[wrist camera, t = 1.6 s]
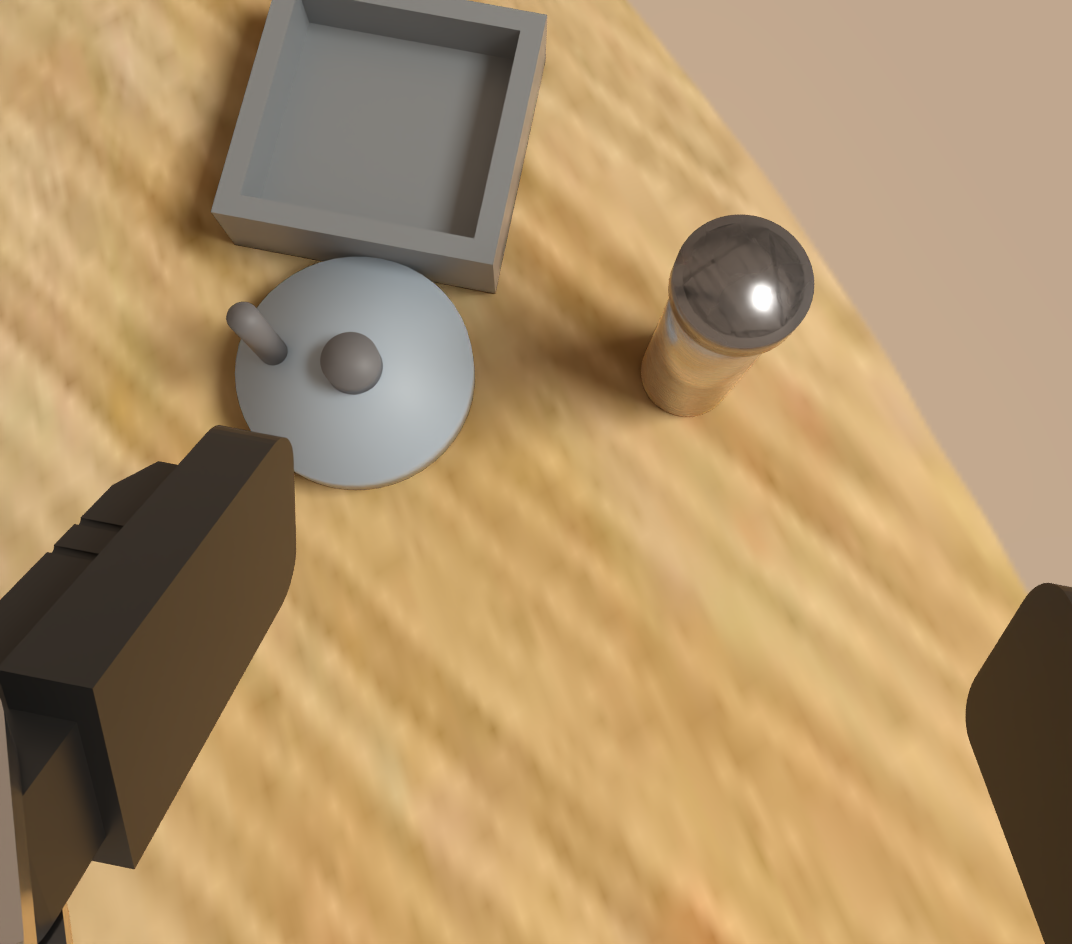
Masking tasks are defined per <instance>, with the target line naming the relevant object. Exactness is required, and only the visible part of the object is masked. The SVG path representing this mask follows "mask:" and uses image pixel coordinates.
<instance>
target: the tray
mask: <svg viewBox="0 0 1072 944" xmlns="http://www.w3.org/2000/svg"><path fill="white" fill-rule="evenodd" d="M546 32H547V15H545V14H539V13H534V12H528V11H523V10H517V9H512V8H506V7H501V6H495V5H490V4H484V3H478V2H473V1H467V0H272V2H271V5H270V9H269V12H268V16H267V19H266V23H265V26H264V30H263V33H262V36H261V40H260V43H259V47H258V50H257V54H256V57H255V61H254V64H253V68H252V71H251V75H250V78H249V82H248V85H247V88H246V92H245V95H244V99H243V102H242V106H241V109H240V113H239V116H238V120H237V123H236V127H235V130H234V133H233V137H232V140H231V144H230V147H229V151H228V154H227V158H226V161H225V165H224V168H223V172H222V175H221V178H220V182H219V185H218V189H217V192H216V196H215V199H214V203H213V206H212V210H211V213H212V214H213V216H214V217H215V218H216V220H217V221H218V222H219V224H220V225H221V226H222V228H223V229H224V230H225V232H226V233H227V234H228V236H229V237H230V239H231V240H232V241H233V243H234V244H235V245H240V246H245V247H250V248H256V249H261V250H266V251H272V252H277V253H282V254H288V255H293V256H298V257H304V258H309V259H314V260H320V261H327V260H331V259H335V258H344V257H373V258H381V259H385V260H389V261H393V262H396V263H399V264H401V265H404V266H406V267H409V268H411V269H413V270H415V271H416V272H418V273H420V274H422V275H423V276H425V277H426V278H427V279H429V280H430V281H432V282H437V283H442V284H447V285H453V286H458V287H463V288H469V289H474V290H479V291H485V292H490V293H496V288H497V283H498V279H499V274H500V269H501V265H502V260H503V256H504V251H505V246H506V242H507V237H508V232H509V228H510V223H511V218H512V214H513V209H514V204H515V200H516V195H517V190H518V186H519V181H520V176H521V172H522V167H523V162H524V158H525V153H526V148H527V144H528V139H529V134H530V130H531V125H532V120H533V116H534V111H535V106H536V102H537V97H538V92H539V88H540V83H541V79H542V74H543V69H544V65H545V58H546Z"/></svg>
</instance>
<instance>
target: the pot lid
mask: <svg viewBox="0 0 1072 944" xmlns="http://www.w3.org/2000/svg"><path fill="white" fill-rule="evenodd" d="M226 320H227V323H228V325H229V327H230V328H231V329H232V330H233V331H234V332H235V333H236V334H237V335H238V336H239V337H240V338H241V340H240V343H239V347H238V352H237V357H236V366H235V382H236V392H237V396H238V401H239V405H240V408H241V410H242V413H243V416H244V419H245V420H246V422H247V424H248V426H249V428H250V430H251V431H253V432H258V433H263V434H269V435H274V436H279V437H285V438H287V439H288V440H289V441H290V443H291V445H292V449H293V457H294V472H296V473H298V474H299V475H301V476H303V477H304V478H306V479H309V480H311V481H314V482H316V483H318V484H322V485H325V486H329V487H333V488H339V489H347V490H367V489H374V488H381V487H385V486H389V485H392V484H396V483H398V482H401V481H403V480H406V479H408V478H410V477H412V476H414V475H416V474H417V473H419V472H421V471H423V470H424V469H425V468H427V467H428V466H429V465H431V464H432V463H433V462H435V461H436V460H437V459H438V458H439V457H440V456H441V455H442V454H443V453H444V452H445V451H446V450H447V449H448V447H449V446H450V445H451V444H452V442H453V441H454V440H455V439H456V437H457V435H458V434H459V432H460V430H461V429H462V427H463V425H464V423H465V420H466V418H467V416H468V413H469V410H470V407H471V403H472V400H473V393H474V387H475V368H474V360H473V353H472V348H471V343H470V340H469V336H468V332H467V329H466V327H465V325H464V322H463V320H462V318H461V316H460V314H459V313H458V311H457V309H456V308H455V306H454V304H453V303H452V302H451V301H450V299H449V298H448V297H447V296H446V294H445V293H444V292H443V291H442V290H441V289H440V288H438V287H437V286H436V285H435V284H434V283H433V282H432V281H430V280H429V279H427V278H426V277H425V276H423V275H422V274H420V273H418V272H416V271H415V270H413V269H411V268H409V267H406V266H404V265H401V264H399V263H396V262H393V261H389V260H385V259H381V258H373V257H344V258H335V259H331V260H327V261H323V262H320V263H317V264H315V265H312V266H309V267H307V268H305V269H303V270H301V271H299V272H297V273H295V274H293V275H292V276H290V277H289V278H287V279H286V280H284V281H283V282H282V283H280V284H279V285H278V286H277V287H276V288H275V289H273V290H272V291H271V292H270V293H269V294H268V295H267V296H266V297H265V299H264V300H263V301H262V302H261V303H260V304H259V306H258V307H257V309H256V307H255V306H254V305H252V304H251V303H248V302H239V303H236V304H234V305H233V306H231V307H230V309H229V310H228V312H227V316H226Z"/></svg>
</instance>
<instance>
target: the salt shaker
mask: <svg viewBox="0 0 1072 944" xmlns="http://www.w3.org/2000/svg"><path fill="white" fill-rule="evenodd" d="M668 293H669V299H668V302H667V304H666V306H665V308H664V311H663V313H662V315H661V318H660V320H659V322H658V325H657V327H656V329H655V331H654V334H653V336H652V338H651V341H650V343H649V345H648V348H647V350H646V352H645V355H644V357H643V360H642V364H641V379H642V384H643V387H644V389H645V391H646V393H647V395H648V396H649V398H650V399H651V400H652V401H653V402H654V403H655V404H656V405H657V406H658V407H660V408H661V409H662V410H664V411H666V412H668V413H671V414H673V415H677V416H683V417H692V416H698V415H702V414H704V413H707V412H709V411H710V410H712V409H714V408H715V407H716V406H717V405H718V404H719V403H720V402H721V401H722V400H723V399H724V398H725V397H726V395H727V394H728V393H729V392H730V391H731V389H732V388H733V387H734V386H735V385H736V384H737V382H738V381H739V380H740V379H741V378H742V377H743V375H744V374H745V373H746V372H747V371H748V370H749V368H750V367H751V366H752V365H753V364H754V363H755V361H756V360H757V359H758V358H759V357H760V355H761V354H762V353H765V352H767V351H769V350H771V349H773V348H775V347H777V346H778V345H779V344H781V343H782V342H783V341H784V340H785V339H786V338H787V337H788V336H789V335H790V334H791V333H792V332H793V331H794V330H795V329H796V328H797V326H798V325H799V324H800V323H801V322H802V320H803V319H804V317H805V316H806V314H807V312H808V310H809V308H810V305H811V302H812V298H813V294H814V275H813V270H812V266H811V263H810V260H809V258H808V256H807V254H806V252H805V250H804V249H803V247H802V246H801V244H800V243H799V242H798V241H797V240H796V239H795V237H794V236H792V235H791V234H790V233H789V232H788V231H787V230H785V229H784V228H782V227H781V226H779V225H778V224H776V223H774V222H772V221H769V220H767V219H764V218H761V217H757V216H751V215H729V216H724V217H720V218H717V219H714V220H712V221H709V222H707V223H706V224H704V225H702V226H701V227H699V228H698V229H697V230H695V231H694V232H693V233H692V234H691V235H690V236H689V237H688V239H687V240H686V241H685V242H684V244H683V246H682V247H681V249H680V251H679V253H678V256H677V258H676V261H675V263H674V266H673V268H672V271H671V274H670V278H669V286H668Z"/></svg>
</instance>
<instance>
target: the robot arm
mask: <svg viewBox="0 0 1072 944" xmlns="http://www.w3.org/2000/svg"><path fill="white" fill-rule="evenodd" d="M295 558H296V524H295V489H294V457H293V449H292V445H291V443H290V441H289V440H288V439H287V438H285V437H279V436H274V435H269V434H263V433H258V432H253V431H247V430H242V429H237V428H232V427H226V426H221V425H218V426H214V427H213V428H211V429H210V430H209V431H208V432H207V433H206V434H205V435H204V437H203V438H202V439H201V440H200V441H199V442H198V443H197V444H196V445H195V447H194V448H193V449H192V450H191V451H190V452H189V453H188V454H187V456H186V457H185V458H184V459H183V460H182V461H181V462H180V463H179V465H175V464H170V463H165V462H159V461H158V462H156V463H154V464H152V465H150V466H148V467H146V468H144V469H143V470H141V471H139V472H137V473H135V474H133V475H131V476H129V477H127V478H125V479H123V480H121V481H119V482H118V483H116V484H114V485H112V486H111V487H110V488H109V489H108V490H107V491H106V492H105V493H104V494H103V495H102V496H101V497H100V498H99V499H98V500H97V501H96V502H95V503H94V505H93V506H92V507H91V508H90V509H89V510H88V511H87V512H86V513H85V514H84V515H83V516H82V517H81V521H80V524H79V525H76V524H74V525H73V526H72V527H71V528H70V529H69V530H68V531H67V532H66V533H65V534H64V535H63V536H62V537H61V538H60V539H59V540H58V541H57V542H56V543H55V544H54V550H53V552H52V553H49V552H47V553H46V554H45V555H44V556H43V557H42V558H41V559H40V560H39V561H38V562H37V563H36V564H35V565H34V566H33V567H32V568H31V569H30V570H29V571H28V572H27V573H26V574H25V575H24V576H23V577H22V578H21V579H20V580H19V581H18V582H17V583H16V584H15V585H14V587H13V588H12V589H11V590H10V591H9V592H8V593H7V594H6V595H5V596H4V597H3V598H2V599H1V600H0V944H73V939H72V932H71V924H70V916H69V910H68V906H67V900H68V899H69V897H70V896H71V894H72V892H73V891H74V889H75V887H76V886H77V884H78V882H79V881H80V879H81V877H82V876H83V874H84V873H85V871H86V869H87V868H88V866H89V864H90V863H91V861H96V862H101V863H106V864H111V865H116V866H121V867H126V868H131V869H135V867H136V866H137V864H138V862H139V860H140V859H141V857H142V855H143V853H144V851H145V850H146V848H147V846H148V844H149V842H150V841H151V839H152V837H153V835H154V833H155V832H156V830H157V828H158V826H159V824H160V823H161V821H162V819H163V817H164V815H165V814H166V812H167V810H168V808H169V807H170V805H171V803H172V801H173V799H174V798H175V796H176V794H177V792H178V790H179V789H180V787H181V785H182V783H183V781H184V780H185V778H186V776H187V774H188V772H189V771H190V769H191V767H192V765H193V763H194V762H195V760H196V758H197V756H198V755H199V753H200V751H201V749H202V747H203V746H204V744H205V742H206V740H207V738H208V737H209V735H210V733H211V731H212V729H213V728H214V726H215V724H216V722H217V720H218V719H219V717H220V715H221V713H222V711H223V710H224V708H225V706H226V704H227V702H228V701H229V699H230V697H231V695H232V694H233V692H234V690H235V688H236V686H237V685H238V683H239V681H240V679H241V677H242V676H243V674H244V672H245V670H246V668H247V667H248V665H249V663H250V661H251V659H252V658H253V656H254V654H255V652H256V650H257V649H258V647H259V645H260V643H261V642H262V640H263V638H264V636H265V634H266V633H267V631H268V629H269V627H270V625H271V624H272V622H273V620H274V618H275V616H276V615H277V613H278V611H279V609H280V607H281V606H282V604H283V602H284V599H285V597H286V595H287V592H288V589H289V586H290V583H291V579H292V575H293V571H294V565H295ZM966 728H967V734H968V737H969V741H970V744H971V746H972V749H973V752H974V754H975V757H976V760H977V762H978V765H979V768H980V770H981V773H982V776H983V779H984V781H985V784H986V787H987V789H988V792H989V795H990V797H991V800H992V803H993V805H994V808H995V811H996V813H997V816H998V819H999V821H1000V824H1001V827H1002V829H1003V832H1004V835H1005V838H1006V840H1007V843H1008V846H1009V848H1010V851H1011V854H1012V856H1013V859H1014V862H1015V864H1016V867H1017V870H1018V872H1019V875H1020V878H1021V880H1022V883H1023V886H1024V889H1025V891H1026V894H1027V897H1028V899H1029V902H1030V905H1031V907H1032V910H1033V913H1034V915H1035V918H1036V921H1037V923H1038V926H1039V929H1040V931H1041V934H1042V937H1043V939H1044V942H1045V944H1072V587H1067V586H1062V585H1057V584H1052V583H1043V584H1041V585H1038V586H1037V587H1035V588H1034V589H1033V590H1032V591H1031V592H1030V593H1029V594H1028V595H1027V596H1026V598H1025V599H1024V601H1023V602H1022V604H1021V605H1020V607H1019V609H1018V610H1017V612H1016V613H1015V615H1014V617H1013V618H1012V620H1011V621H1010V623H1009V625H1008V626H1007V628H1006V629H1005V631H1004V633H1003V634H1002V636H1001V637H1000V639H999V641H998V642H997V644H996V645H995V647H994V649H993V650H992V652H991V653H990V655H989V657H988V658H987V660H986V661H985V663H984V664H983V666H982V668H981V669H980V671H979V672H978V674H977V676H976V677H975V679H974V681H973V683H972V685H971V688H970V691H969V694H968V698H967V704H966Z"/></svg>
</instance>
